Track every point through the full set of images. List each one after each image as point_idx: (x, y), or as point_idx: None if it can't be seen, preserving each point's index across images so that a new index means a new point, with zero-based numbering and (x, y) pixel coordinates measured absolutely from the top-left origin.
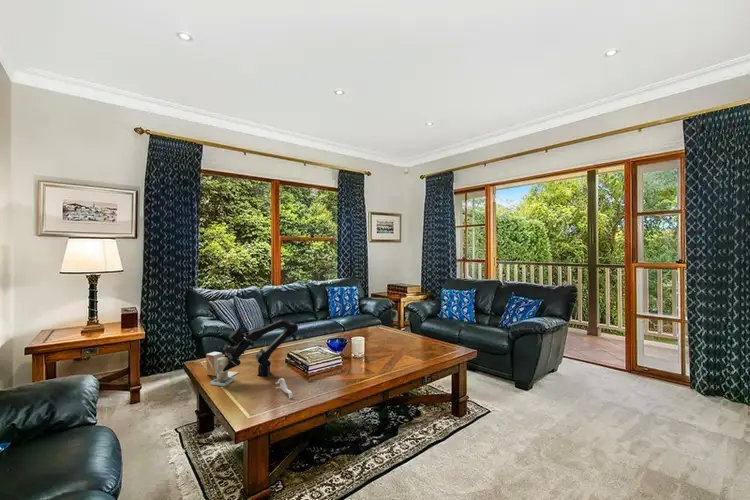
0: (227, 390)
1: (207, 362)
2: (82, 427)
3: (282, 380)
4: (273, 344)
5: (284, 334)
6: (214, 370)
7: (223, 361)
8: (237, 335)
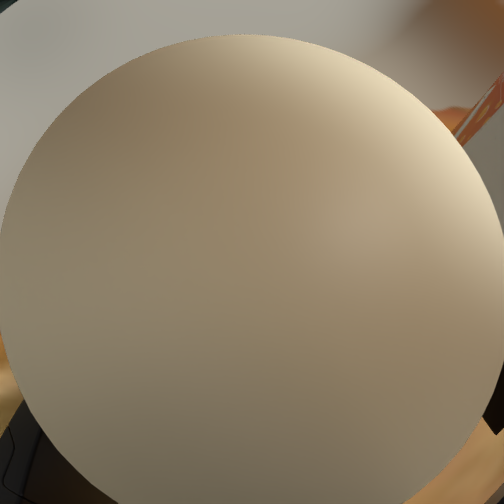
0: (11, 390)
1: (468, 114)
2: (9, 4)
3: None
4: None
5: None
6: None
7: (31, 333)
8: None
